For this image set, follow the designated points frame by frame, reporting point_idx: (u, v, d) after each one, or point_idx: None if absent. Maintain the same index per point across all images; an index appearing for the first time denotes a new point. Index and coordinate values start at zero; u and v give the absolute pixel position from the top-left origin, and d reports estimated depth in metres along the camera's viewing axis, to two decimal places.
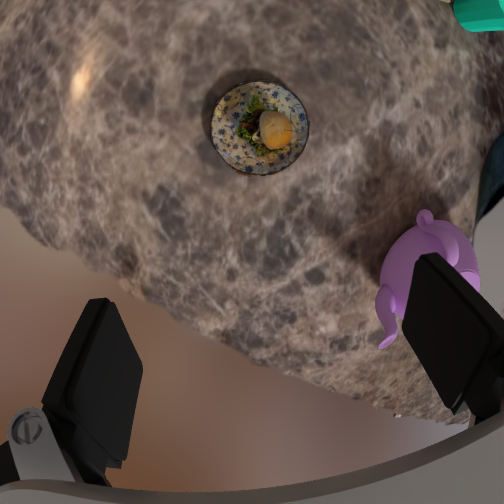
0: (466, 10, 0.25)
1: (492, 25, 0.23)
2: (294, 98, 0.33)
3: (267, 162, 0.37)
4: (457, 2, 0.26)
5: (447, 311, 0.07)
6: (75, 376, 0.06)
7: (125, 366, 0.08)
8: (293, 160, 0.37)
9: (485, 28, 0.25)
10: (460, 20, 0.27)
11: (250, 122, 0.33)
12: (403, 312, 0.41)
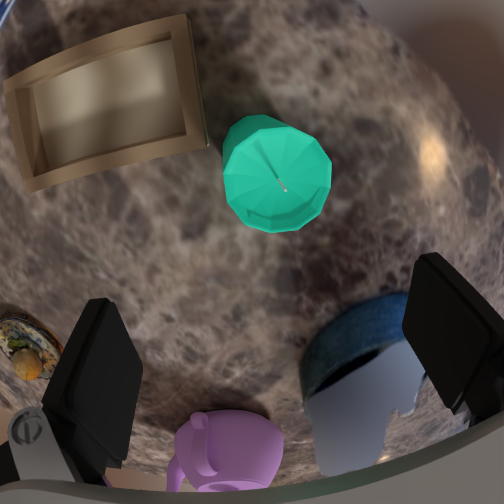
0: None
1: None
2: (38, 332, 0.31)
3: (47, 369, 0.36)
4: (225, 139, 0.24)
5: (447, 311, 0.07)
6: (75, 376, 0.06)
7: (125, 366, 0.08)
8: None
9: None
10: None
11: None
12: None
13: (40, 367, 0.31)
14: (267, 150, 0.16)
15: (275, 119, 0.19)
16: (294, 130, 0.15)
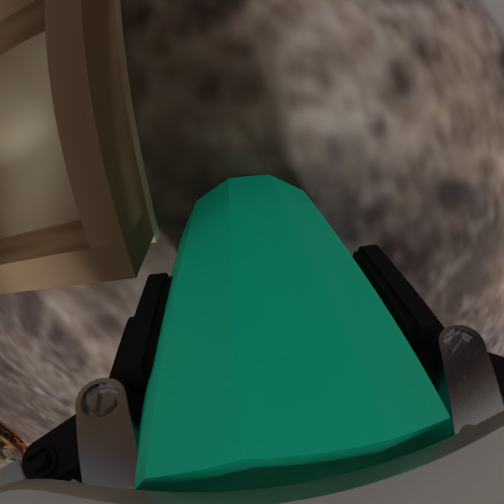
0: None
1: None
2: None
3: (9, 450, 0.23)
4: (184, 231, 0.12)
5: None
6: (151, 343, 0.07)
7: None
8: None
9: None
10: None
11: None
12: None
13: None
14: None
15: (302, 235, 0.07)
16: (402, 438, 0.03)
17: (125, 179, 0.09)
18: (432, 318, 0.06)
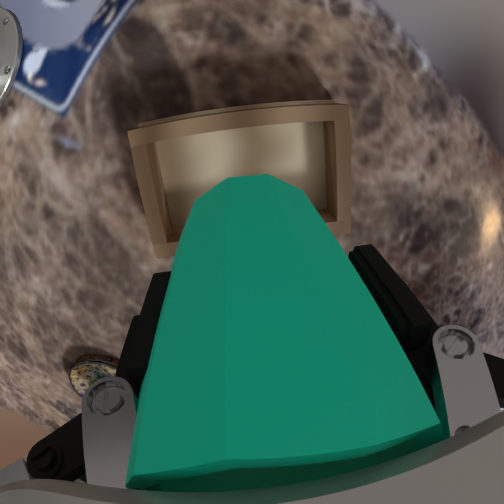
0: None
1: None
2: None
3: None
4: (183, 230, 0.12)
5: None
6: None
7: None
8: None
9: None
10: None
11: None
12: None
13: None
14: None
15: (297, 236, 0.07)
16: (387, 444, 0.03)
17: None
18: (426, 318, 0.06)
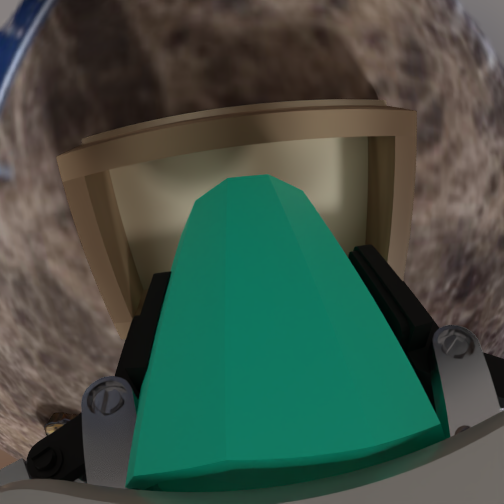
0: None
1: None
2: None
3: None
4: (183, 230, 0.12)
5: None
6: None
7: None
8: None
9: None
10: None
11: None
12: None
13: None
14: None
15: (297, 236, 0.07)
16: (387, 445, 0.03)
17: None
18: (427, 318, 0.06)
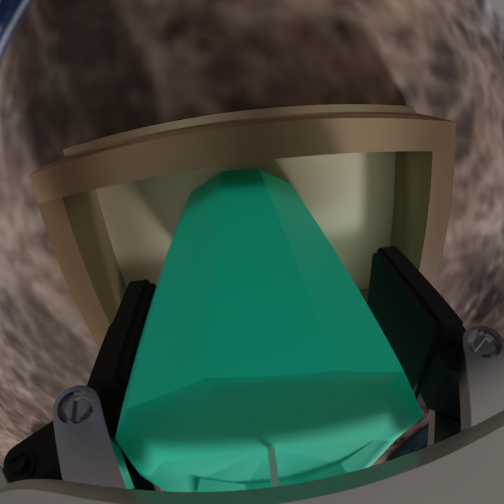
0: None
1: None
2: None
3: None
4: (180, 219, 0.13)
5: (400, 303, 0.07)
6: (126, 352, 0.06)
7: None
8: None
9: None
10: None
11: None
12: None
13: None
14: (241, 405, 0.04)
15: (280, 217, 0.08)
16: (349, 375, 0.04)
17: None
18: (457, 319, 0.06)
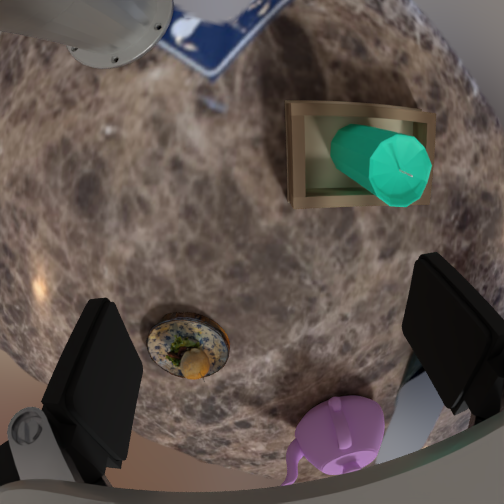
0: (339, 158, 0.29)
1: None
2: (215, 332, 0.40)
3: None
4: (336, 138, 0.30)
5: (447, 311, 0.07)
6: (75, 376, 0.06)
7: (125, 366, 0.08)
8: (216, 371, 0.44)
9: None
10: (336, 166, 0.31)
11: (176, 352, 0.40)
12: (308, 460, 0.47)
13: (209, 365, 0.40)
14: (397, 149, 0.22)
15: None
16: (416, 140, 0.21)
17: None
18: None
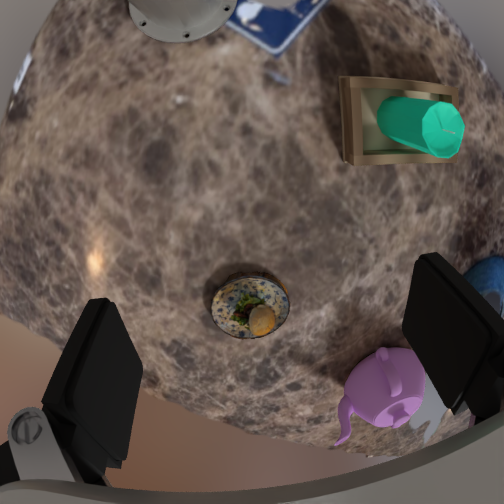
0: (388, 123, 0.32)
1: (415, 147, 0.30)
2: (278, 287, 0.44)
3: None
4: (382, 107, 0.33)
5: (447, 311, 0.07)
6: (75, 376, 0.06)
7: (125, 366, 0.08)
8: (276, 328, 0.48)
9: None
10: (383, 131, 0.34)
11: (242, 311, 0.44)
12: (359, 415, 0.52)
13: None
14: (440, 113, 0.25)
15: None
16: (453, 106, 0.24)
17: None
18: None
